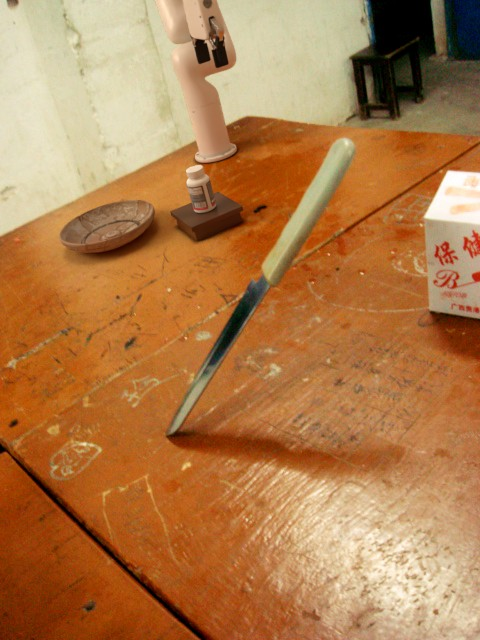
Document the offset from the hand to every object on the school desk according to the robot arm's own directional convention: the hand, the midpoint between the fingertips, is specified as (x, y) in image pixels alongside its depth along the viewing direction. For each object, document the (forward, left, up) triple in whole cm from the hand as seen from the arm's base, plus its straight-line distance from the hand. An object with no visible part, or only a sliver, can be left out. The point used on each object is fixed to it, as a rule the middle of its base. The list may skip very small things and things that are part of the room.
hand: (213, 64), depth 148 cm
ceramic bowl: (0, -36, -31) cm, 47 cm away
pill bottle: (+14, -16, -26) cm, 34 cm away
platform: (+14, -16, -30) cm, 37 cm away
